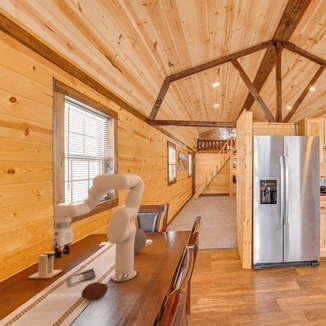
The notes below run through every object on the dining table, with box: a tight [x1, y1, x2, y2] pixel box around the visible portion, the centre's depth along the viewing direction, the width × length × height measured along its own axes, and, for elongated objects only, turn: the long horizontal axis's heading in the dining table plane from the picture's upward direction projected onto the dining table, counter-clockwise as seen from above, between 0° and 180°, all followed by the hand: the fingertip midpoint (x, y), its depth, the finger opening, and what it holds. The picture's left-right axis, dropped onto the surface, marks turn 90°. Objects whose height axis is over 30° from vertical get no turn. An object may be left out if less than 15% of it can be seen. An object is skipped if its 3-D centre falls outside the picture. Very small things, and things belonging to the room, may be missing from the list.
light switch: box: [70, 268, 96, 285], centre depth 130 cm, size 11×2×12 cm
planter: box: [134, 227, 148, 254], centre depth 169 cm, size 18×7×19 cm, turn 114°
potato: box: [81, 281, 109, 301], centre depth 112 cm, size 8×11×8 cm
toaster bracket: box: [27, 251, 63, 279], centre depth 134 cm, size 12×9×13 cm
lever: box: [47, 248, 67, 258], centre depth 134 cm, size 12×5×2 cm, turn 91°
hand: (62, 255), depth 134 cm, fingers closed on lever, 5 cm apart
